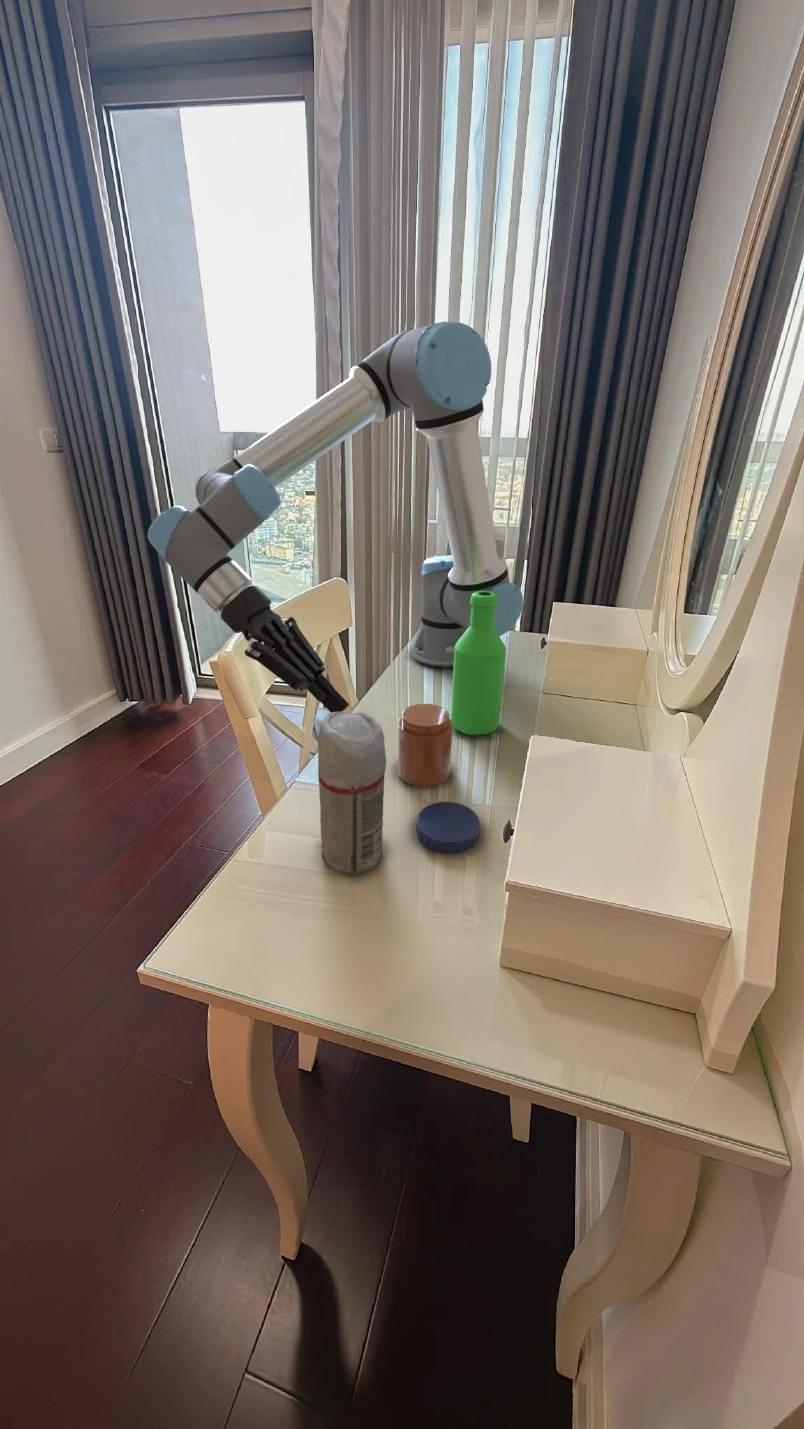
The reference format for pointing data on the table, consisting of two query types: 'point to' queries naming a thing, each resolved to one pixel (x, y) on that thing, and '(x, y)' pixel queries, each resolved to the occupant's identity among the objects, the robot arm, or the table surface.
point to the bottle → (478, 670)
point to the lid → (448, 827)
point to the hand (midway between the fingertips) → (342, 710)
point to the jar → (424, 745)
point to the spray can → (351, 791)
